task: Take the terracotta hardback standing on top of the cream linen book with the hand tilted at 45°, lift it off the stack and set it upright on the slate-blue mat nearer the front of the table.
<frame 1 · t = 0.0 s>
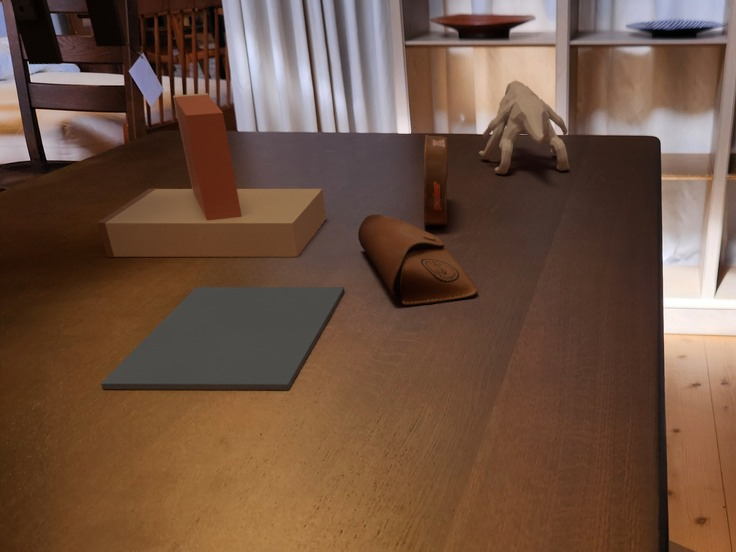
hand: (81, 54, 82), 19 cm above the table, tool pointing down, fingers open, 13 cm apart
mat: (237, 335, 74), on the table
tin: (438, 218, 104), on the table
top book: (216, 204, 96), point 4 cm above the table, touching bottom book
sunglasses case: (416, 274, 87), on the table
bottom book: (223, 237, 98), on the table, touching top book
beige creature figurine: (528, 169, 124), on the table
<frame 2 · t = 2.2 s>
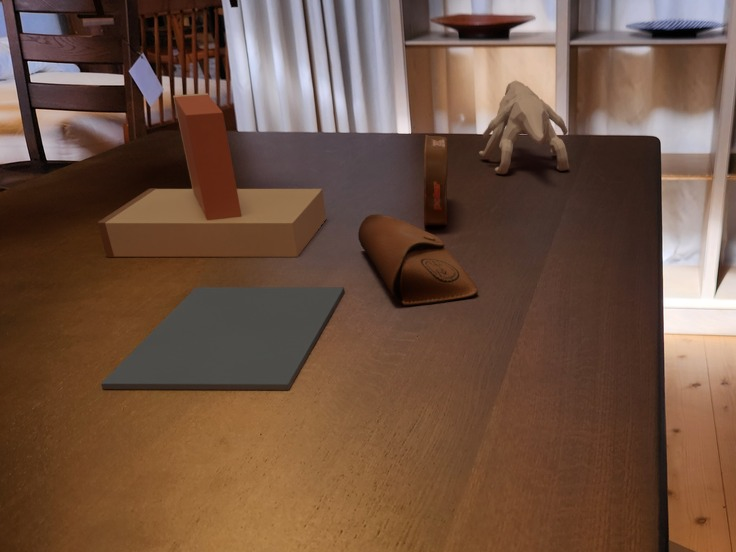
hand: (167, 2, 93), 22 cm above the table, tool tilted 45°, fingers open, 13 cm apart
nothing on the table moved.
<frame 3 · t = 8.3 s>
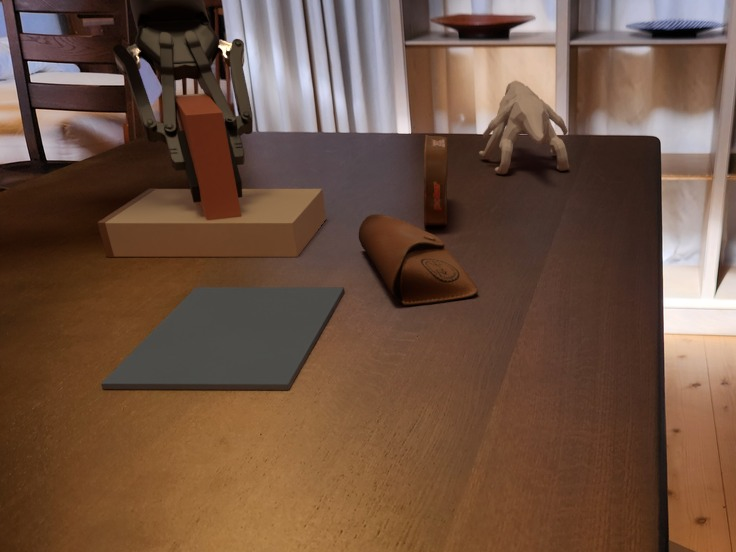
hand: (217, 192, 91), 6 cm above the table, tool tilted 45°, fingers closed on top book, 3 cm apart
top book: (216, 204, 96), point 4 cm above the table, touching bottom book, gripper
everything else where it was.
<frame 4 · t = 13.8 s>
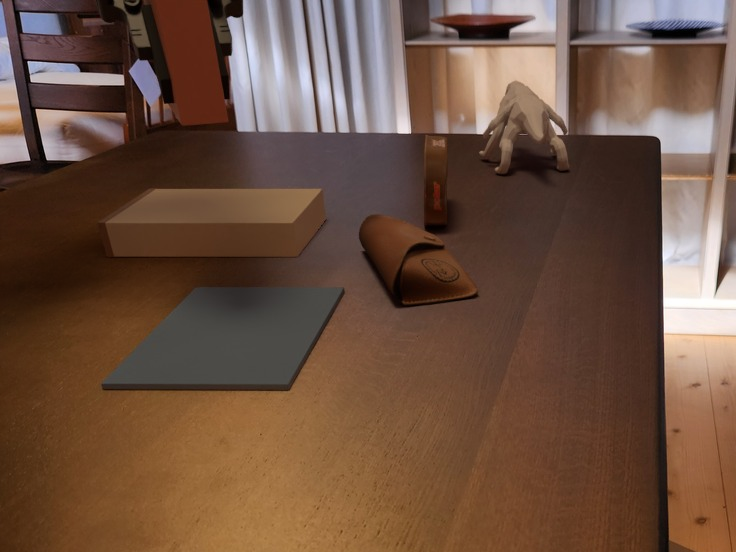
hand: (196, 89, 68), 18 cm above the table, tool tilted 45°, fingers closed on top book, 3 cm apart
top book: (195, 111, 72), point 16 cm above the table, touching gripper
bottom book: (223, 237, 98), on the table
everything else where it was.
when the fingers open (3 cm above the table, at t = 19.2 s): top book stays where it is, resting on mat.
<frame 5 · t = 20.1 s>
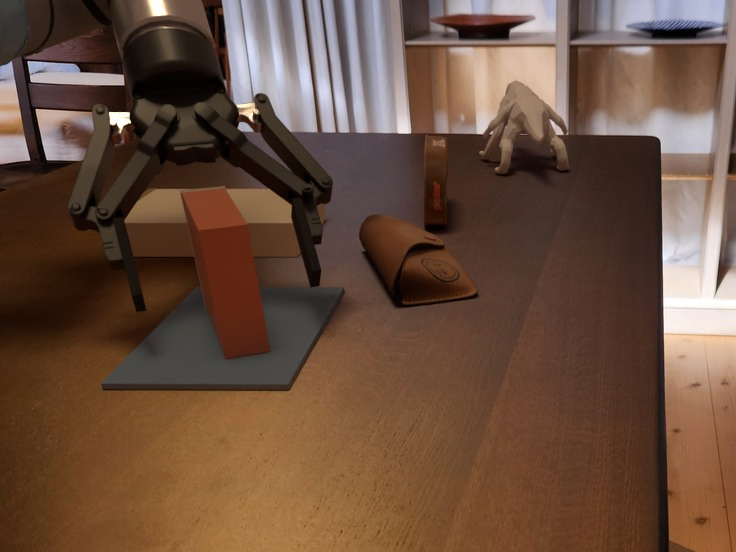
hand: (230, 291, 70), 5 cm above the table, tool tilted 45°, fingers open, 13 cm apart
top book: (236, 329, 74), point 1 cm above the table, touching mat
everything else where it was.
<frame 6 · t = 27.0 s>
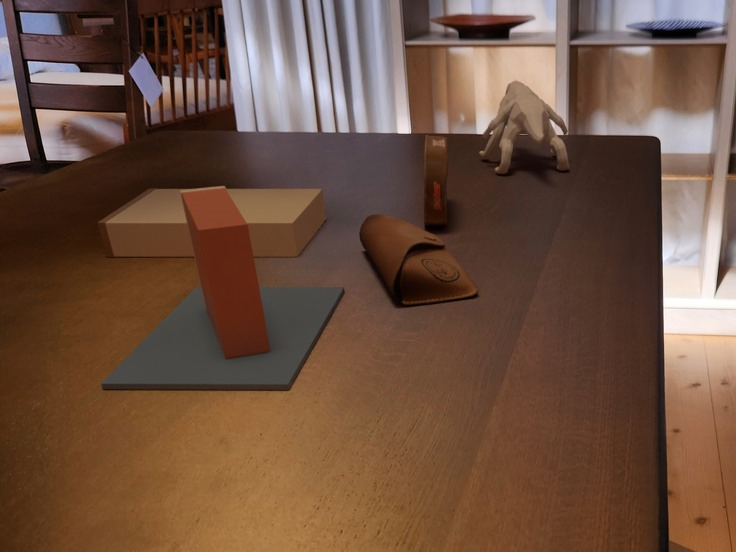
nothing on the table moved.
at the end: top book inside the target area on the mat (0.0 cm from its centre), point 0.5 cm above the mat's base; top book tilted 0°; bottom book moved 0.0 cm from its start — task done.
